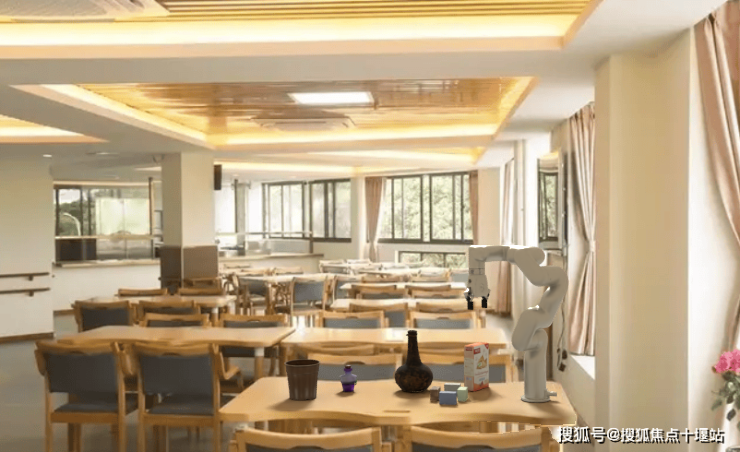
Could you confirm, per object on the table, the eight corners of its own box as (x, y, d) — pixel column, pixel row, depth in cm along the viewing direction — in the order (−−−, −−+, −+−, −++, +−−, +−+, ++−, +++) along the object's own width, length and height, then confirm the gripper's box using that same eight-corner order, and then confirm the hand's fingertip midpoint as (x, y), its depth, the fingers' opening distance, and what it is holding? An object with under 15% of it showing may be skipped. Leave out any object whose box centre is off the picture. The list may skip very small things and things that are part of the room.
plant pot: (315, 402, 366) (314, 365, 366) (280, 401, 369) (279, 365, 369) (325, 394, 382) (324, 359, 382) (291, 393, 385) (290, 358, 385)
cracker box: (475, 392, 381) (474, 346, 381) (463, 390, 385) (462, 345, 385) (490, 386, 392) (489, 342, 392) (478, 385, 396) (478, 341, 396)
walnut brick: (440, 397, 371) (440, 386, 371) (437, 401, 364) (437, 389, 364) (433, 397, 372) (432, 386, 372) (430, 400, 365) (429, 389, 365)
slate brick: (460, 394, 377) (460, 383, 377) (459, 396, 374) (459, 384, 374) (445, 393, 379) (445, 382, 379) (444, 395, 376) (444, 384, 376)
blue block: (456, 403, 360) (456, 391, 360) (455, 405, 356) (455, 393, 356) (440, 402, 361) (440, 391, 361) (439, 404, 358) (439, 392, 358)
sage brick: (467, 398, 369) (467, 386, 369) (465, 401, 362) (465, 390, 362) (460, 397, 370) (459, 386, 370) (457, 401, 363) (457, 389, 363)
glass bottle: (433, 386, 395) (432, 327, 395) (432, 394, 377) (431, 332, 377) (396, 386, 397) (395, 327, 397) (393, 394, 379) (392, 333, 379)
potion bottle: (360, 391, 387) (360, 365, 387) (343, 393, 383) (343, 367, 383) (353, 388, 395) (352, 362, 395) (336, 390, 391) (335, 364, 391)
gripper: (470, 273, 379) (470, 311, 379) (495, 271, 390) (495, 308, 390) (458, 272, 384) (458, 310, 385) (483, 270, 396) (483, 306, 396)
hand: (477, 308), depth 387 cm, fingers open, 9 cm apart
